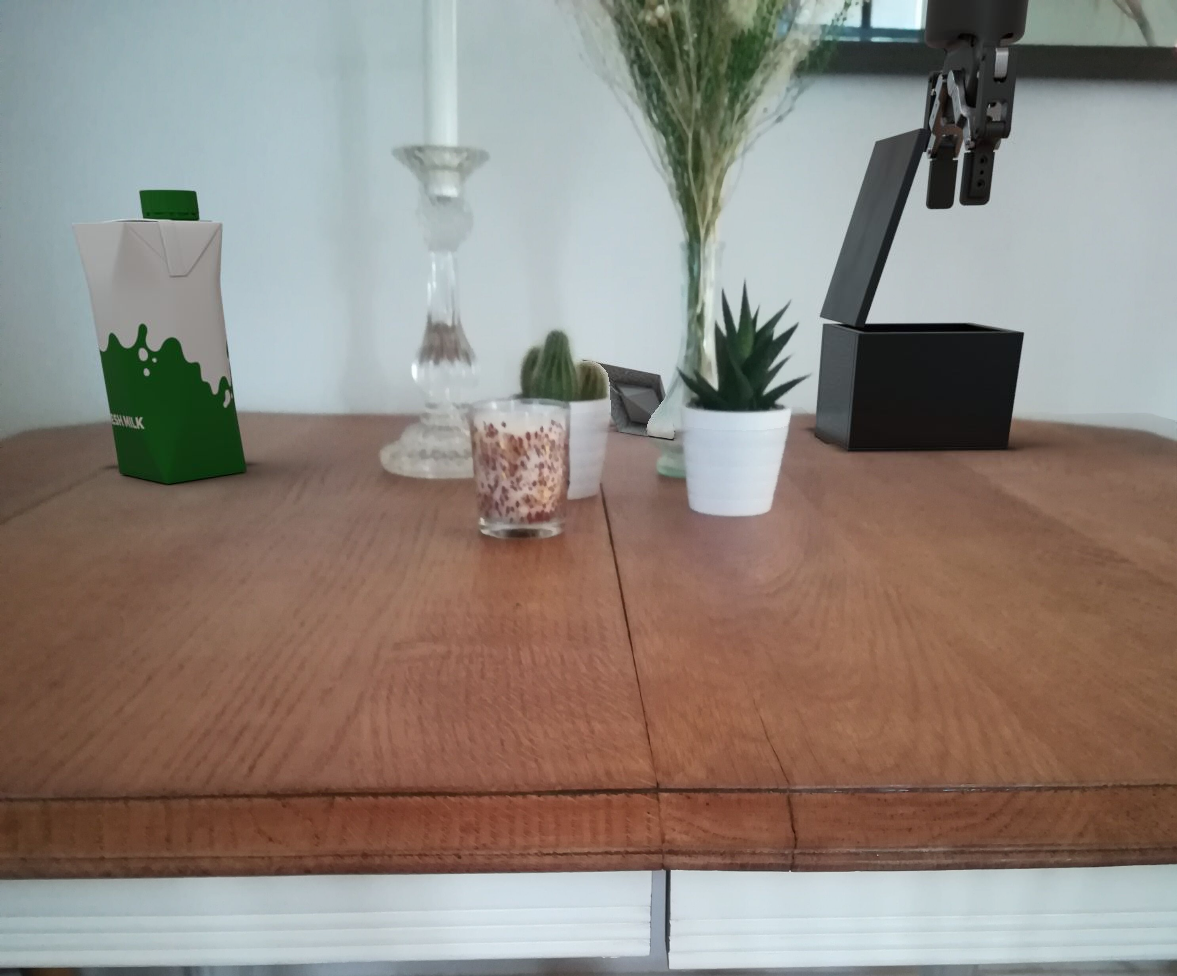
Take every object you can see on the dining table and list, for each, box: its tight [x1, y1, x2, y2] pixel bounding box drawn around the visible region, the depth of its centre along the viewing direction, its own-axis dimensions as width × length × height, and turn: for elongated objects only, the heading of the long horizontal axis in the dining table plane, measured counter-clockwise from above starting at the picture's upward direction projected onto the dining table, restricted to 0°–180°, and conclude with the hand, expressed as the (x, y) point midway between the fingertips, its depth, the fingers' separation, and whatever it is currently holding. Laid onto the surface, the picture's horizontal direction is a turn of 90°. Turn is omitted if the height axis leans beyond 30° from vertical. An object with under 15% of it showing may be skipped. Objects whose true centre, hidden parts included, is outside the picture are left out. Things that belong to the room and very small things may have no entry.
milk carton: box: [71, 189, 248, 485], centre depth 88 cm, size 9×9×20 cm
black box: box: [813, 322, 1025, 453], centre depth 101 cm, size 14×13×10 cm
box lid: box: [819, 127, 930, 328], centre depth 96 cm, size 14×13×1 cm
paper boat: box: [582, 358, 667, 437], centre depth 109 cm, size 12×6×9 cm
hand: (955, 207), depth 96 cm, fingers open, 8 cm apart
